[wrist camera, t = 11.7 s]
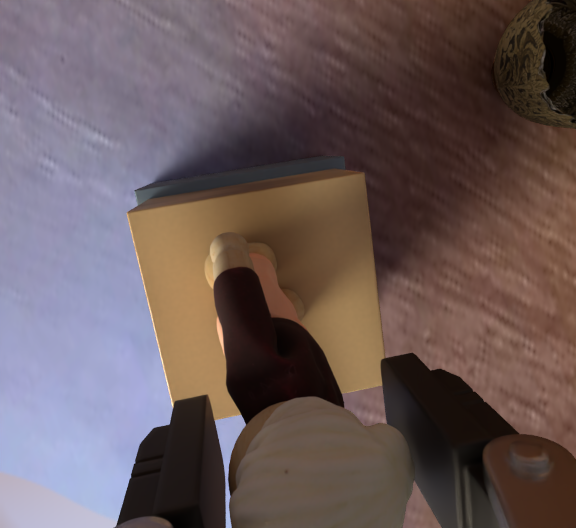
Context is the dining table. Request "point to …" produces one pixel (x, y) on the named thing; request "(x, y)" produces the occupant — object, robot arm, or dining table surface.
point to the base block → (238, 177)
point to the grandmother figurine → (295, 411)
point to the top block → (290, 274)
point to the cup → (539, 63)
